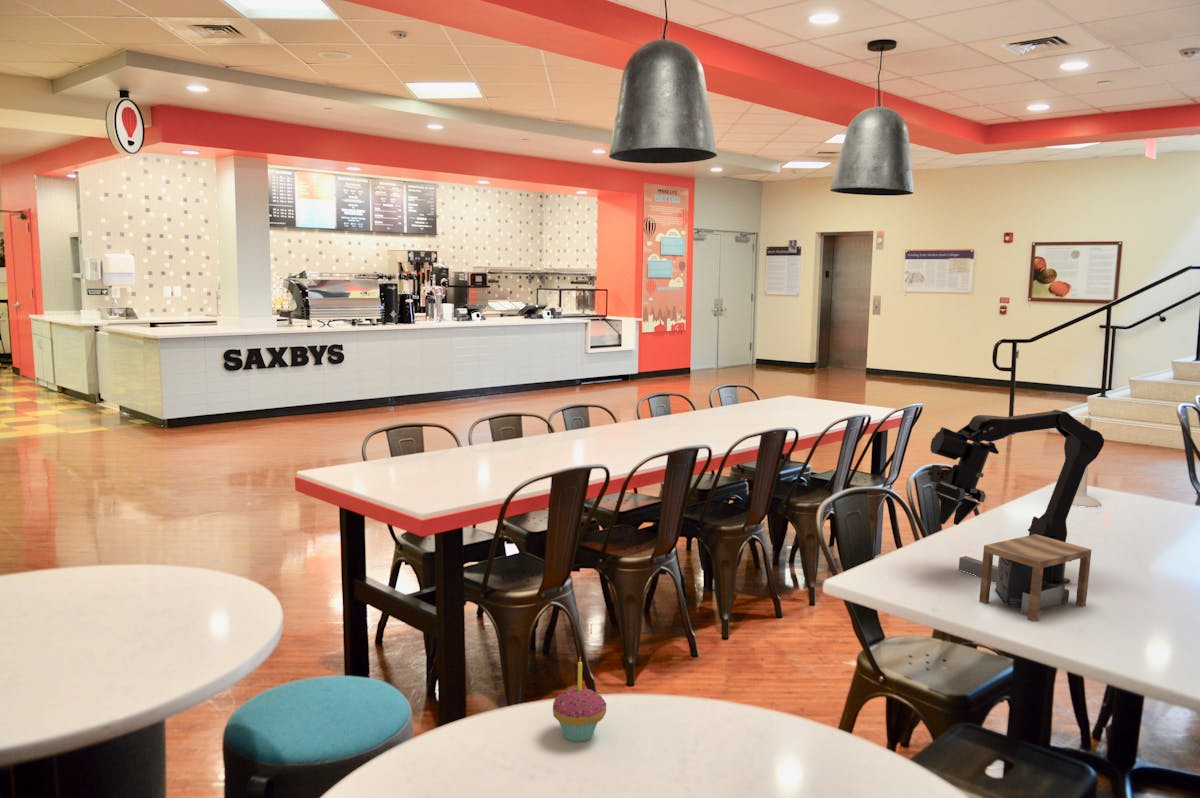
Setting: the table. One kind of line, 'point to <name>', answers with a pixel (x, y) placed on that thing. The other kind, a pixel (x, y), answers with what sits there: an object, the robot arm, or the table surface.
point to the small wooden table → (1036, 565)
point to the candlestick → (1085, 486)
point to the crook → (1049, 593)
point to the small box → (1013, 581)
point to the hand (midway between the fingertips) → (948, 524)
